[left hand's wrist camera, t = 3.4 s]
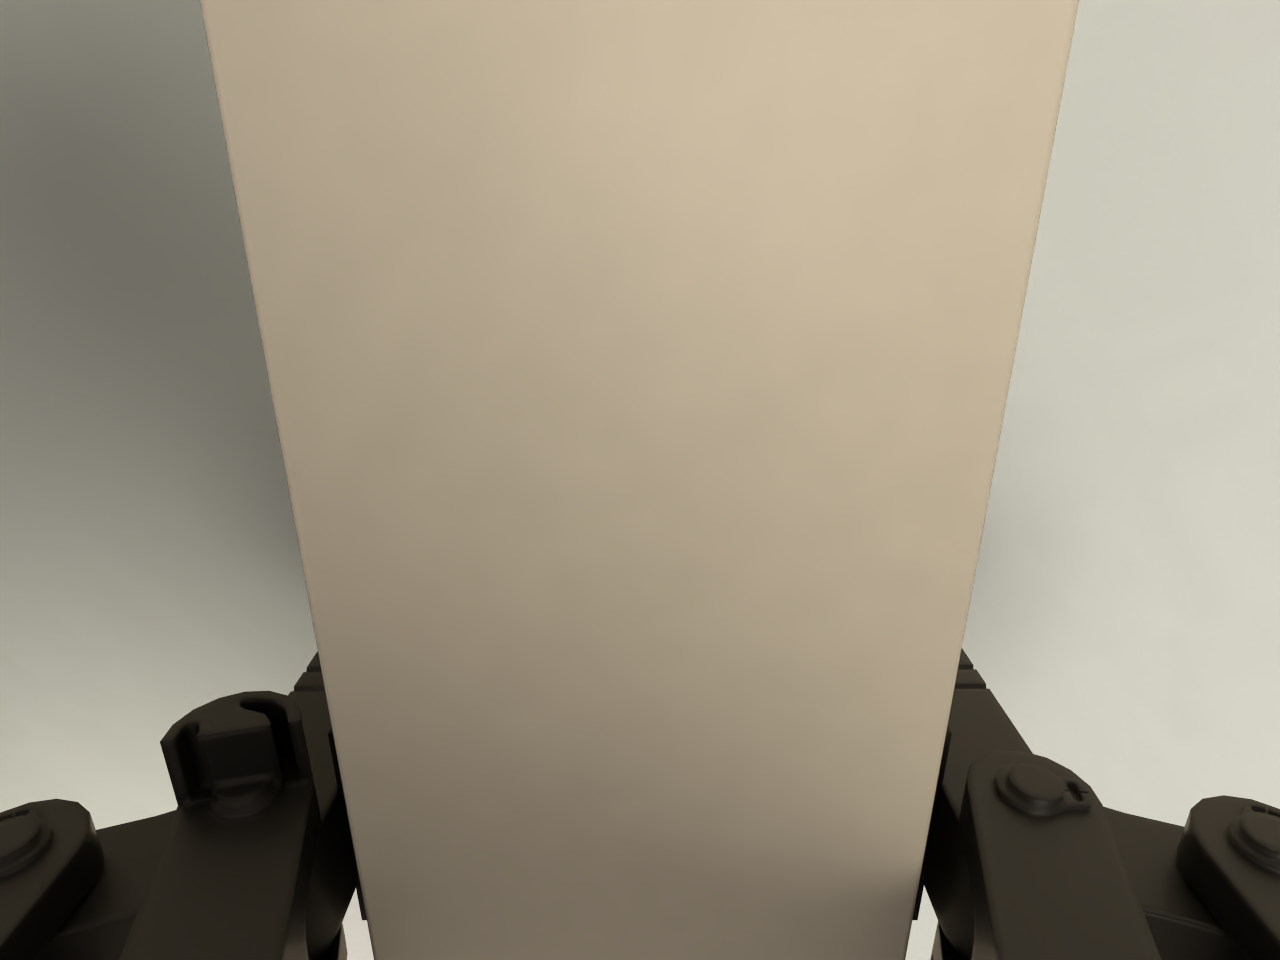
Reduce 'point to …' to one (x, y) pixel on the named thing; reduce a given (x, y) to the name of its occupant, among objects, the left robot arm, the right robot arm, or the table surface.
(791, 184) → the bar
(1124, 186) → the table surface
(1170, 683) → the table surface
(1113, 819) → the left robot arm
